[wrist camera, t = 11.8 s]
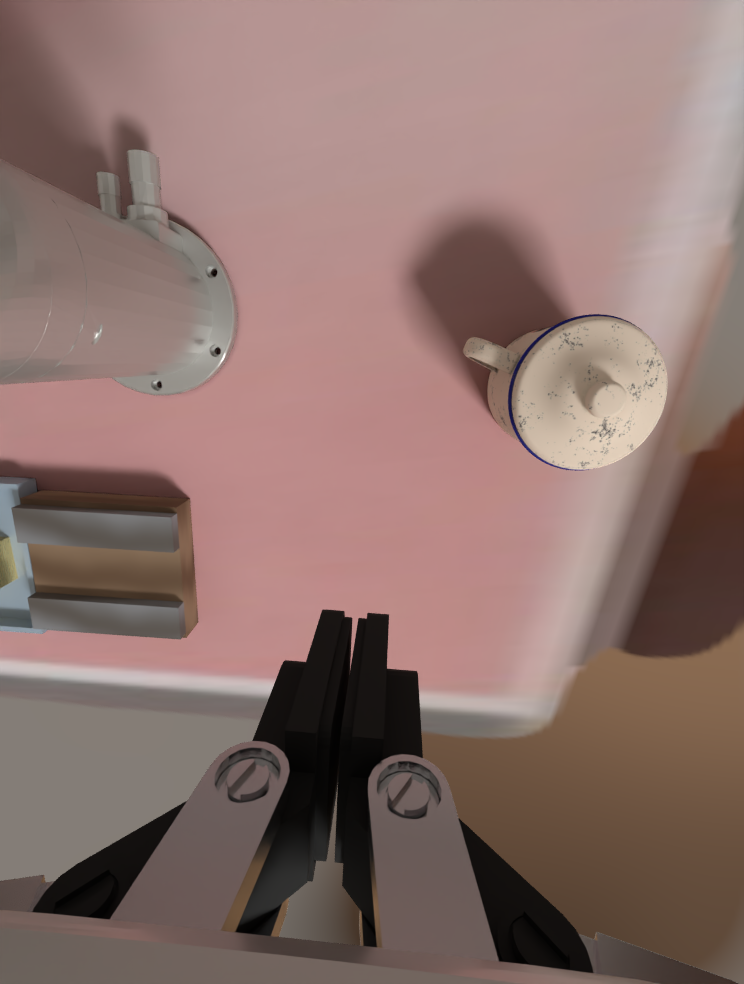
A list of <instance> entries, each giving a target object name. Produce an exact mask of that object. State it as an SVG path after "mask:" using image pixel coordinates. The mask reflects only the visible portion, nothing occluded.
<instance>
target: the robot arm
mask: <svg viewBox="0 0 744 984" xmlns="http://www.w3.org/2000/svg"><path fill="white" fill-rule="evenodd" d="M127 163H128V175H129V183H130V185H131V191H132V203H133V205H129V206H127V214H128V216H123V215H122V210H121V199H122V198H121V187H120V178H119V177H118V176H117V175H115V174H112V173H108V172H97V173H96V179H97V189H98V195H99V198H100V207H101V210H100V209H98V208H96V207H94V206H92V205H90V204H88V203H86V202H84V201H83V200H81V199H79V198H77V197H75V196H73V195H71V194H69V193H67V192H65V191H63V190H61V189H59V188H57V187H55V186H53V185H51V184H49V183H47V182H45V181H43V180H41V179H39V178H37V177H35V176H33V175H31V174H29V173H27V172H26V171H24V170H22V169H20V168H18V167H16V166H14V165H12V164H10V163H8V162H6V161H4V160H2V159H0V385H3V384H18V383H34V382H51V381H67V380H84V379H100V378H112V379H113V380H115V381H117V382H118V383H120V384H122V385H123V386H125V387H127V388H130V389H132V390H135V391H137V392H141V393H146V394H151V395H174V394H180V393H184V392H187V391H190V390H193V389H196V388H197V387H199V386H201V385H203V384H204V383H206V382H208V381H209V380H210V379H211V378H212V377H213V376H214V375H215V374H217V373H218V371H219V370H220V369H221V367H222V366H223V365H224V363H225V362H226V361H227V359H228V356H229V354H230V352H231V350H232V348H233V345H234V341H235V337H236V333H237V321H238V311H237V303H236V296H235V293H234V289H233V286H232V283H231V280H230V278H229V276H228V274H227V272H226V270H225V268H224V266H223V264H222V262H221V261H220V260H219V258H218V257H217V256H216V254H215V253H214V251H213V250H212V249H211V248H210V247H209V246H208V245H207V244H206V243H205V242H204V241H203V240H202V239H201V238H200V237H198V236H197V235H195V234H194V233H192V232H191V231H189V230H188V229H186V228H185V227H183V226H181V225H179V224H177V223H175V222H173V221H171V220H168V213H167V212H166V211H164V210H162V209H161V197H160V190H161V180H160V166H159V157H157V156H156V155H155V154H152V153H150V152H147V151H143V150H135V149H133V150H128V151H127ZM215 270H217V271H218V272H217V276H216V277H214V276H213V272H214V271H215ZM218 348H220V349H221V354H218V353H217V349H218ZM160 382H161V383H162V387H160V385H159V383H160ZM388 625H389V615H388V614H375V613H368V614H367V619H364V618H359V619H358V625H357V632H356V638H355V644H354V651H353V657H352V663H351V670H350V657H351V636H352V618H351V617H345V614H344V611H336V610H322V613H321V616H320V619H319V622H318V625H317V629H316V632H315V635H314V638H313V642H312V645H311V648H310V651H309V654H308V658H307V661H306V662H299V661H287V660H285V661H284V662H283V664H282V666H281V668H280V671H279V674H278V676H277V679H276V681H275V684H274V687H273V689H272V692H271V694H270V697H269V699H268V702H267V705H266V707H265V710H264V712H263V715H262V717H261V720H260V723H259V725H258V728H257V731H256V733H255V736H254V738H253V741H251V742H244V743H240V744H238V745H235V746H233V747H230V748H229V749H227V750H226V751H224V752H223V753H221V754H220V755H219V756H218V757H217V758H216V759H215V760H214V762H213V763H212V764H211V765H210V767H209V769H208V770H207V771H206V773H205V775H204V776H203V777H202V779H201V781H200V782H199V784H198V785H197V787H196V788H195V790H194V791H193V793H192V794H191V796H190V797H189V799H188V800H187V801H186V802H184V803H182V804H181V805H179V806H177V807H175V808H174V809H172V810H170V811H169V812H167V813H165V814H163V815H162V816H160V817H158V818H156V819H155V820H153V821H151V822H150V823H148V824H146V825H144V826H142V827H141V828H139V829H137V830H136V831H134V832H132V833H130V834H129V835H127V836H125V837H123V838H122V839H120V840H118V841H116V842H115V843H113V844H112V845H110V846H108V847H106V848H104V849H103V850H101V851H99V852H97V853H96V854H94V855H92V856H90V857H89V858H87V859H86V860H84V861H82V862H80V863H78V864H77V865H75V866H74V867H72V868H71V869H70V870H68V871H67V872H66V873H64V874H62V875H61V876H60V877H59V878H58V879H57V880H56V881H53V882H45V877H44V875H39V876H32V877H25V878H19V879H11V880H4V881H0V984H738V983H736V982H734V981H732V980H730V979H727V978H724V977H721V976H718V975H716V974H713V973H710V972H707V971H704V970H701V969H699V968H696V967H693V966H690V965H688V964H685V963H682V962H679V961H676V960H674V959H670V958H668V957H665V956H662V955H660V954H657V953H654V952H651V951H649V950H646V949H643V948H640V947H637V946H635V945H632V944H629V943H626V942H623V941H621V940H618V939H615V938H612V937H609V936H606V935H604V934H601V933H598V932H596V936H595V939H591V938H588V937H586V936H583V935H580V934H578V933H577V931H576V929H575V928H574V927H573V926H572V925H571V924H570V922H569V921H568V920H567V919H566V918H565V917H564V916H563V914H562V913H560V912H559V911H558V910H557V909H556V908H555V907H554V906H553V905H552V904H550V902H549V901H548V900H546V899H545V898H544V897H543V896H542V895H541V894H540V893H539V892H538V891H537V890H536V889H535V888H534V887H532V886H531V885H530V884H529V883H528V882H527V881H526V880H525V879H524V878H523V877H522V876H521V875H519V874H518V873H517V872H516V871H515V870H514V869H513V868H512V867H511V866H510V865H509V864H508V863H506V862H505V861H504V860H503V859H502V858H501V857H500V856H499V855H498V854H497V853H496V852H495V851H494V850H493V849H491V848H490V847H489V846H488V845H487V844H486V843H485V842H484V841H483V840H482V839H481V838H480V837H478V836H477V835H476V834H475V833H474V832H473V831H472V830H471V829H470V828H469V827H468V826H467V825H465V824H464V823H463V822H462V821H461V820H460V819H459V818H458V815H457V812H456V808H455V805H454V802H453V798H452V795H451V791H450V787H449V785H448V783H447V780H446V778H445V776H444V775H443V774H442V773H441V771H440V770H439V769H438V768H437V767H436V766H435V765H433V764H432V763H430V762H429V761H427V760H426V759H423V755H422V737H421V720H420V703H419V686H418V673H417V671H408V670H396V669H387V649H388ZM337 785H338V797H337V821H336V844H335V862H337V863H343V864H344V865H343V883H342V886H343V887H344V888H345V890H346V891H347V893H348V894H349V895H350V897H351V898H352V899H353V901H354V902H355V904H356V905H357V906H358V908H359V909H360V917H359V928H360V946H358V945H348V944H339V943H329V942H320V941H311V940H302V939H293V938H282V937H279V935H280V931H281V929H282V925H283V922H284V920H285V917H286V913H287V908H288V903H289V897H290V896H291V895H292V894H294V893H295V892H296V891H297V890H298V889H300V888H301V887H302V886H303V885H304V884H306V883H307V881H313V876H314V870H315V864H316V860H317V861H326V859H327V854H328V847H329V840H330V833H331V827H332V819H333V813H334V806H335V799H336V792H337Z"/></svg>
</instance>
